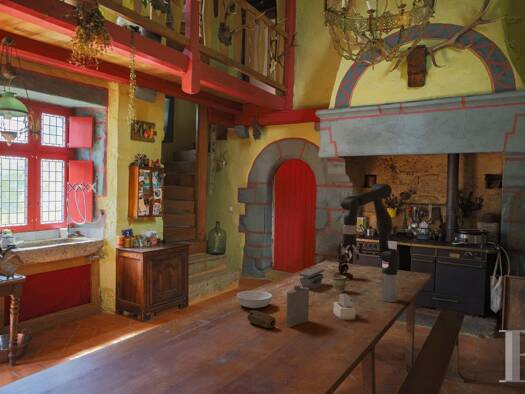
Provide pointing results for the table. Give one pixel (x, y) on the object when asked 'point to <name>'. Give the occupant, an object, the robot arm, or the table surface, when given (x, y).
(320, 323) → the table surface
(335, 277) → the ceramic cup
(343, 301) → the tall brushed metal block
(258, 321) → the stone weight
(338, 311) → the hollow off-white angular block
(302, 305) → the hip flask
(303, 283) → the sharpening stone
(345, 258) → the black knobby tall piece
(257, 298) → the serving bowl
